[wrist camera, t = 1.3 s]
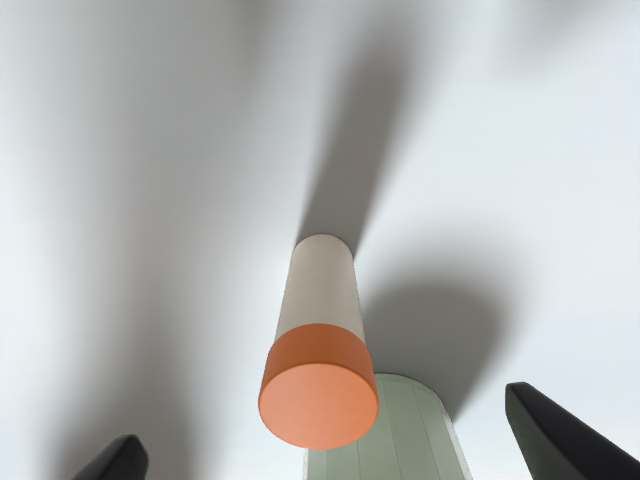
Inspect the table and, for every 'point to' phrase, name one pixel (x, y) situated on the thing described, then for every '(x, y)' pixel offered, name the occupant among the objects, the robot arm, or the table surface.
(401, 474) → the pen holder
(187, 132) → the table surface
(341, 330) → the glue stick
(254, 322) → the table surface
